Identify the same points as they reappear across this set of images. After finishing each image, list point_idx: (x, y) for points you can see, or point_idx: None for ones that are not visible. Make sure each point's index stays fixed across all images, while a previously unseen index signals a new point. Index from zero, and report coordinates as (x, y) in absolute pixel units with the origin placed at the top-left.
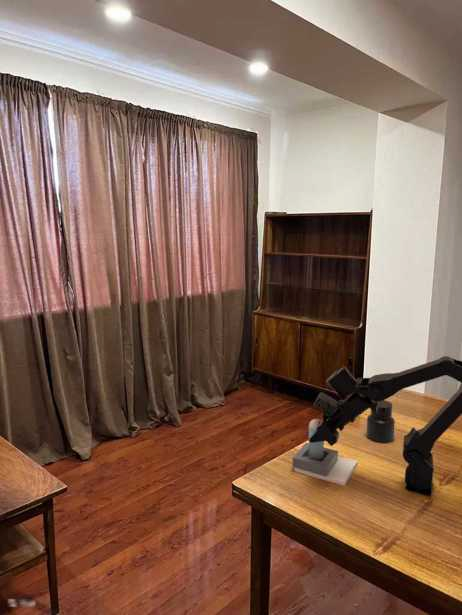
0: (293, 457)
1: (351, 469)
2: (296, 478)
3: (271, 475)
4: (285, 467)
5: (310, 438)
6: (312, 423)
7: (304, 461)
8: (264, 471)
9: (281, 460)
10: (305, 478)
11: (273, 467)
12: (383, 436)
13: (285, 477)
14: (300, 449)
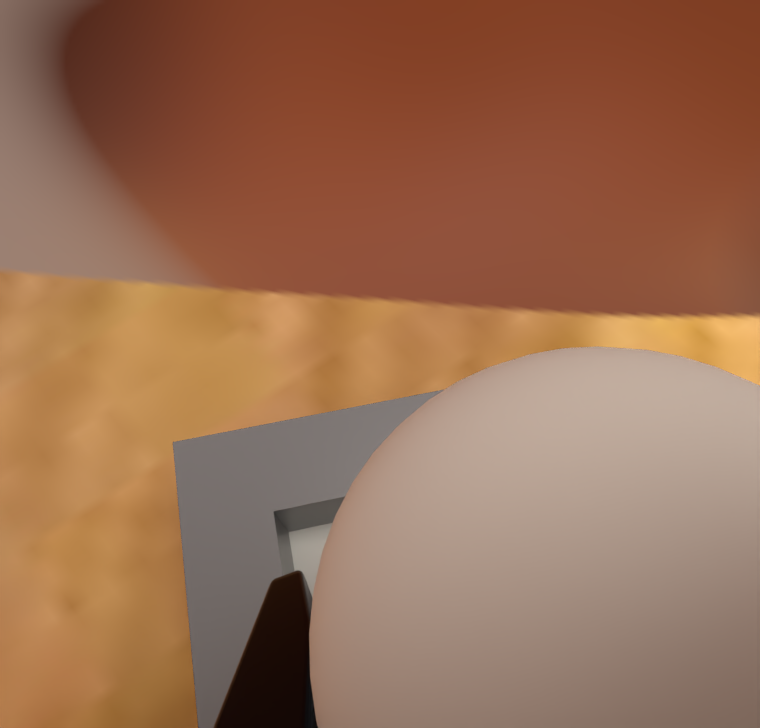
0: (183, 447)
1: None
2: (91, 608)
3: (10, 385)
4: (216, 402)
5: (254, 627)
6: (392, 556)
7: (191, 612)
8: (40, 302)
9: (303, 306)
10: (146, 689)
11: (148, 321)
12: None
13: (47, 506)
14: (417, 402)
